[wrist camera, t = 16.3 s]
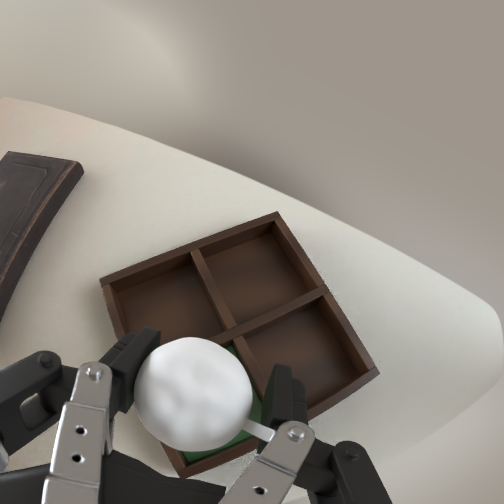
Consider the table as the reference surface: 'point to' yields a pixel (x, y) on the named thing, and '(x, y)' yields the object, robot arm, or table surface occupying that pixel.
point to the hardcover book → (28, 209)
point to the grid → (245, 318)
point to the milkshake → (195, 396)
